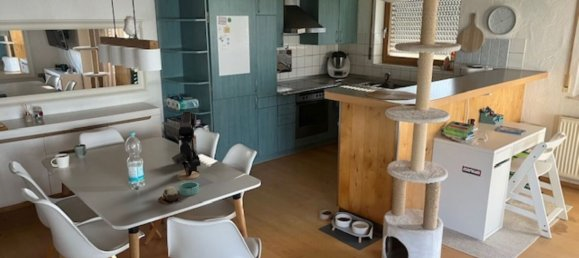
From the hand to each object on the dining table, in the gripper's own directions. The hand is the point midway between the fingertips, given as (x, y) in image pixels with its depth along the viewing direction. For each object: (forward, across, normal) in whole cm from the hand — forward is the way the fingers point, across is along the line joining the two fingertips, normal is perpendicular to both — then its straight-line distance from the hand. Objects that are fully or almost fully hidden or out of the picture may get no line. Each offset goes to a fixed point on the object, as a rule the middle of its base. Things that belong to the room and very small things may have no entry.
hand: (188, 174), depth 244 cm
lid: (+1, 0, 0) cm, 1 cm away
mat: (+10, -8, +12) cm, 18 cm away
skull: (+11, +2, -13) cm, 17 cm away
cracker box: (+11, -43, +24) cm, 50 cm away
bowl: (+10, 0, 0) cm, 11 cm away
